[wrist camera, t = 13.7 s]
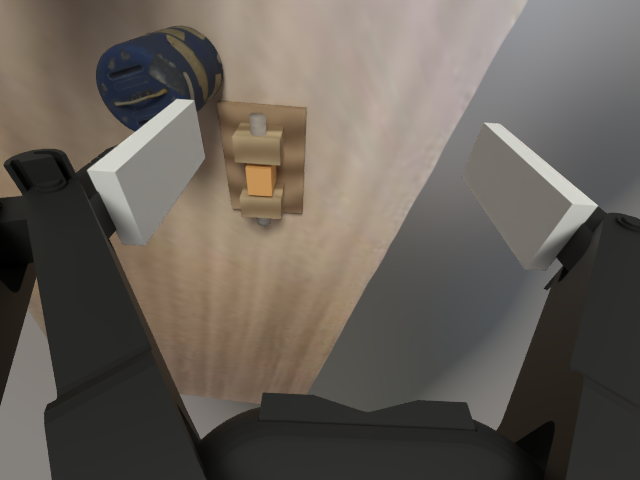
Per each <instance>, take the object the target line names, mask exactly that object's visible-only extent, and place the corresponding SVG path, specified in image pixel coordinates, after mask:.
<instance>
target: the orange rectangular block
mask: <svg viewBox="0 0 640 480" xmlns="http://www.w3.org/2000/svg"><path fill="white" fill-rule="evenodd" d="M245 169H246V178H247V187H248V195H258V196H272V195H273V191H274V187H275V183H276V179H277V176H276V165H267V164H253V163H247V165H246V168H245Z"/></svg>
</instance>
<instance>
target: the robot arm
mask: <svg viewBox="0 0 640 480" xmlns="http://www.w3.org/2000/svg"><path fill="white" fill-rule="evenodd" d="M204 159H205V154H204V148H203V143H202V138H201V133H200V127H199V122H198V117H197V112H196V106H195V101H194V100H184V99H176V100H175V101H174V102H172V103H171V104H170V105H169V106H167V107H166V108H165V109H164V110H162V111H161V112H160V113H158V114H157V115H156V116H155V117H153V118H152V119H151V120H150V121H148V122H147V123H146V124H145V125H143V126H142V127H141V128H139V129H138V130H137V131H136V132H134V133H133V134H132V135H131V136H129V137H128V138H127V139H126V140H124V141H123V142H122V143H121V144H119V145H116V146H114V147H111V148H109V149H106V150H105V151H104V152H103V153H101V154H100V155H99V156H98V158H97V157H96V158H95V159H93V160H92V161H91V163H88V164H87V165H86V166H84V167H83V168H82V169H80V170H79V171H78V172H76V173H75V171H74V169H73V167H72V165H71V163H70V161H69V159H68V157H67V155H66V154H65V153H64V152H63V151H61V150H56V149H40V150H32V151H28V152H24V153H20V154H18V155H15V156H13V157H11V158H9V159H8V160H6V161H5V163H4V165H3V166H4V167H5V169H6V170H7V172H8V173H9V175H10V176H11V178H12V179H13V181H14V182H15V184H16V185H17V187H18V188H19V190H20V191H21V193H22V196H17V197H6V198H0V405H1V401H2V398H3V394H4V390H5V387H6V383H7V380H8V376H9V372H10V369H11V365H12V362H13V358H14V355H15V351H16V347H17V344H18V340H19V337H20V333H21V330H22V326H23V323H24V319H25V316H26V312H27V308H28V305H29V301H30V298H31V294H32V291H33V287H34V283H35V280H36V276H37V281H38V287H39V292H40V298H41V304H42V309H43V315H44V321H45V326H46V332H47V338H48V343H49V349H50V354H51V360H52V366H53V371H54V377H55V383H56V388H57V399H56V400H55V401H53V402H51V403H49V404H47V406H46V409H45V412H44V424H45V425H44V426H45V433H46V440H47V447H48V455H49V462H50V469H51V477H52V480H640V219H638V218H636V217H632V216H628V215H625V214H620V213H608V214H607V213H606V212H604V211H603V210H602V209H601V208H600V207H598V205H596V204H595V203H594V202H593V201H592V200H590V199H589V198H588V197H587V196H586V195H584V194H583V193H582V192H581V191H580V190H579V189H577V188H576V187H575V186H574V185H573V184H571V183H570V182H569V181H568V180H566V179H565V178H564V177H563V176H562V175H560V174H559V173H558V172H557V171H556V170H555V169H553V168H552V167H551V166H549V165H548V164H547V163H546V162H545V161H544V160H543V159H541V158H540V157H539V156H538V155H536V154H535V153H534V152H533V151H532V150H531V149H529V148H528V147H527V146H526V145H525V144H523V143H522V142H521V141H520V140H519V139H517V138H516V137H515V136H514V135H513V134H511V133H510V132H509V131H508V130H507V129H505V128H504V127H503V126H502V125H501V124H493V123H483V125H482V128H481V130H480V133H479V135H478V138H477V140H476V142H475V145H474V147H473V150H472V152H471V154H470V157H469V159H468V161H467V164H466V166H465V169H464V171H463V173H462V176H461V177H462V178H463V180H464V181H465V183H466V184H467V186H468V187H469V188H470V190H471V191H472V193H473V194H474V196H475V197H476V199H477V200H478V202H479V203H480V205H481V206H482V208H483V209H484V210H485V212H486V213H487V215H488V216H489V218H490V219H491V221H492V222H493V224H494V225H495V227H496V228H497V230H498V231H499V233H500V234H501V235H502V237H503V238H504V240H505V241H506V243H507V244H508V246H509V247H510V249H511V250H512V252H513V253H514V255H515V256H516V257H517V259H518V260H519V262H520V263H521V265H522V266H523V268H524V269H526V270H542V271H546V270H547V269H548V267H549V266H550V265H551V264H552V262H553V261H554V260H555V259H556V257H557V258H558V260H559V261H560V262H561V263H562V265H563V266H562V268H561V269H560V270H559V271H558V272H557V273H556V275H555V276H554V277H553V278H552V279H551V280H550V282H549V283H548V284H547V285H546V286H545V288H544V289H546V290H548V289H549V288H551V289H550V292H549V295H548V297H547V300H546V303H545V305H544V308H543V311H542V313H541V316H540V319H539V322H538V324H537V327H536V330H535V332H534V335H533V338H532V341H531V343H530V346H529V349H528V352H527V354H526V357H525V360H524V362H523V365H522V368H521V371H520V373H519V376H518V379H517V381H516V384H515V387H514V390H513V392H512V395H511V398H510V401H509V403H508V406H507V409H506V411H505V414H504V417H503V419H502V422H501V424H500V426H499V427H498V429H497V430H496V431H495V430H493V429H492V428H490V427H489V426H487V425H484V424H482V423H480V422H478V421H476V420H473V419H472V417H471V414H470V411H469V408H468V405H467V403H466V402H445V401H425V400H417V401H412V402H408V403H404V404H400V405H396V406H393V407H388V408H385V409H381V410H377V411H373V412H364V411H360V410H357V409H354V408H351V407H348V406H345V405H342V404H339V403H336V402H332V401H330V400H327V399H324V398H321V397H318V396H315V395H301V394H280V393H263V395H262V401H261V407H259V408H255V409H251V410H248V411H246V412H243V413H240V414H238V415H236V416H234V417H232V418H230V419H228V420H226V421H225V422H223V423H222V424H220V425H219V426H217V427H216V428H215V429H213V430H212V431H211V432H210V433H208V434H207V435H206V436H205V437H204V438H203V439H200V437H199V434H198V432H197V430H196V428H195V426H194V424H193V422H192V420H191V418H190V416H189V414H188V412H187V410H186V408H185V406H184V403H183V401H182V399H181V397H180V394H179V392H178V390H177V388H176V385H175V383H174V381H173V379H172V377H171V374H170V372H169V370H168V368H167V366H166V363H165V361H164V359H163V357H162V354H161V352H160V350H159V348H158V346H157V343H156V341H155V339H154V337H153V334H152V332H151V330H150V328H149V326H148V323H147V321H146V319H145V317H144V314H143V312H142V310H141V308H140V306H139V303H138V301H137V299H136V297H135V295H134V292H133V290H132V288H131V286H130V283H129V281H128V279H127V277H126V275H125V272H124V270H123V268H122V266H121V263H120V261H119V259H118V257H117V255H116V252H115V250H114V248H113V246H112V244H111V242H110V240H109V238H110V237H111V235H112V234H113V233H114V232H115V231H116V232H117V234H118V236H119V238H120V241H121V243H122V244H127V245H143V246H145V245H146V244H147V242H148V241H149V240H150V238H151V237H152V235H153V234H154V232H155V231H156V229H157V228H158V226H159V225H160V223H161V222H162V221H163V219H164V218H165V216H166V215H167V213H168V212H169V210H170V209H171V207H172V206H173V205H174V203H175V202H176V200H177V199H178V197H179V196H180V194H181V193H182V191H183V190H184V188H185V187H186V186H187V184H188V183H189V181H190V180H191V178H192V177H193V175H194V174H195V172H196V171H197V169H198V168H199V167H200V165H201V164H202V162H203V161H204Z"/></svg>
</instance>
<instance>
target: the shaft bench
mask: <svg viewBox="0 0 640 480" xmlns="http://www.w3.org/2000/svg"><path fill="white" fill-rule="evenodd" d="M306 109H307V108H305V107H292V106H279V105H266V104H253V103H241V102H228V101H218V102H217V110H218V117H219V123H220V130H221V137H222V144H223V151H224V158H225V164H226V171H227V178H228V185H229V192H230V198H231V205H232V209H241V214H242V217H256V218H257V219H258V224H259V225H261V226H267V225H269V224H270V223H271V220H270V218H271V219H281V217H282V212H289V213H302V211H303V188H304V161H305V135H306ZM247 163H253V164H267V165H276V176H277V179H276V183H275V187H274V191H273V195H272V196H258V195H248V187H247V178H246V169H245V168H246V165H247Z"/></svg>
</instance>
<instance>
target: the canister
mask: <svg viewBox="0 0 640 480" xmlns="http://www.w3.org/2000/svg"><path fill="white" fill-rule="evenodd" d="M222 77H223V69H222V63H221V60H220V57H219V54H218V52H217V51H216V49H215V47H214V46H213V44H212V43H211V42H210V41H209V40H208V39H207V38H206V37H205V36H204V35H203V34H201V33H200V32H198V31H196V30H194V29H192V28H189V27H185V26H173V27H169V28H166V29H162V30H158V31H155V32H152V33H147V34H146V35H144V36H141V37H138V38H135V39H132V40H129V41H126V42H123V43H120V44H117V45H115V46H113V47H111V48H109V49H108V50H107V51H106V52H105V53H104V54H103V55H102V56H101V58H100V60H99V63H98V65H97V70H96V80H97V87H98V90H99V93H100V95H101V97H102V99H103V101H104V103H105V105H106V106H107V108H108V109H109V110H110V112H111V113H112V114H113V115H114V116H115V117H116V118H117V119H118V120H119V121H120V122H121V123H122V124H124V125H125V126H126V127H128V128H129V129H131V130H133V131H135V132H136V131H137V130H138V129H139V128H141V127H142V126H143V125H145V124H146V123H147V122H148V121H150V120H151V119H152V118H153V117H155V116H156V115H157V114H158V113H160V112H161V111H162V110H164V109H165V108H166V107H167V106H169V105H170V104H171V103H172V102H174V101H175V100H176V99H184V100H194V101H195V106H196V112H198V111H199V110H200V109H201V108H202V107H203V106H204V105H205V104H206V103H207V102H208V101H209V100H210V99H211V98H212V97H213V96H214V94H215V93H216V92H217V91H218V89H219V87H220V85H221V82H222Z"/></svg>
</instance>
